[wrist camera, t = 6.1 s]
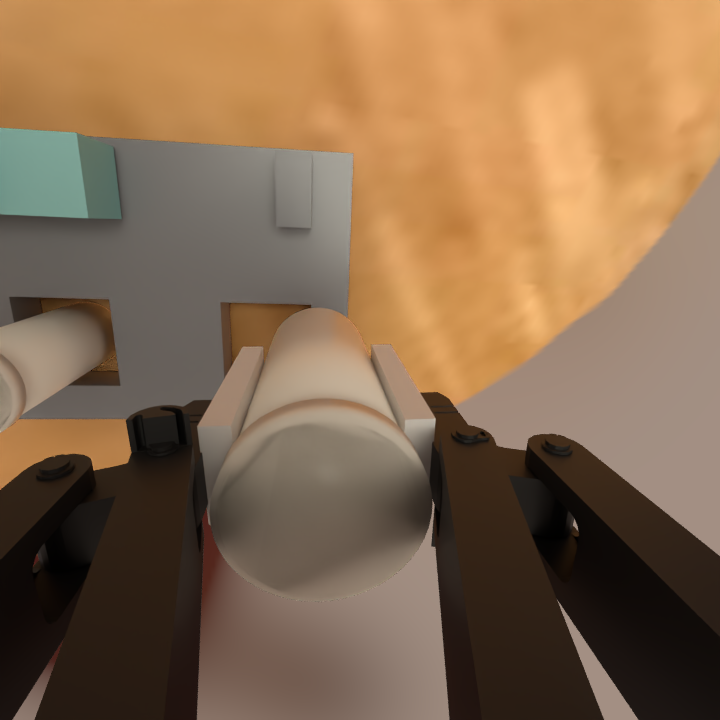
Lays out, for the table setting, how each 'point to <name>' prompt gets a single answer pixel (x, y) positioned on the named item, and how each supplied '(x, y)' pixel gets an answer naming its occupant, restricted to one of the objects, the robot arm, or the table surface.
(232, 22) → the table surface
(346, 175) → the housing
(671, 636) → the robot arm
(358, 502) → the cream peg
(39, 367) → the white cylinder
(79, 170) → the lid
